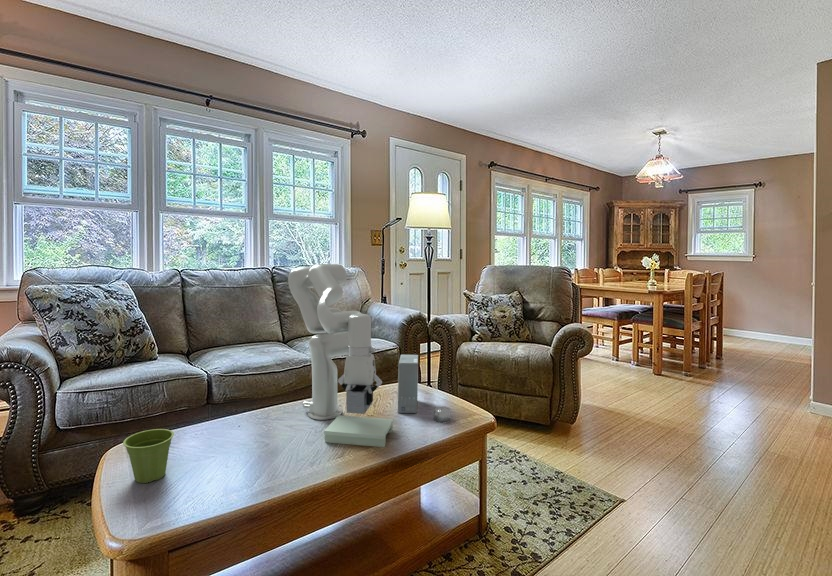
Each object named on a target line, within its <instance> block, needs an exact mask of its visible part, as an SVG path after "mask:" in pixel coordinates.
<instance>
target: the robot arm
mask: <svg viewBox="0 0 832 576" xmlns="http://www.w3.org/2000/svg"><path fill="white" fill-rule="evenodd" d="M347 275H348V274H347V271H346V269H345V268H344V266H343V265H341V264H339V263H337V264H336V263H326V264H325V263H321V264H320V263H319V264H315V265H312V266H304V267H303V266H302V267H296V268H294V269H292V270H291V271H290V272H289V274H288V278H287V279H288V281H287V283H288V288H289V291H290V293H291V295H292V297H293V299H294V300H295V302H296V304H297V305H298V308H299V310H300V314H301V316H302V319H303V323H304V324H305V327H306V329H307V331H308V332H309V333H311V334H314V335H313V336H311V337H310V339H309V341H308V348H309V355H310V360H311V385H312V386H311V389H312V390H311V392H312V394H311V401H303V403H302V407H303V409H308V410H309V411H307V412H308V418H311V419H314V420H319V421H320V420H322V421H325V420H331V419H336V418H337V416H338V415H342V412H343V410H342V408H341V407H339V406H338V384H339V385H340V386H341V388H343V390H344V391H345V393H346V392H347V391H348V390H349V389H350V388H351V387H352V386H353V385H364V386H366V387H367V389H368V394H367V405H370V404H371V402H372V403H373V401H374V392H375V391H376V390H377V389H378V388H380V386H381V385H382V384H383V381H382V379H381V378H380V377H379V376H378V375H377V370H376V362H375V360H376V359H375V356H374V353H375V352H376V348H374V347H373V346H372V318H371V316H370V315H369V314H368V313H362V312H361V311H358V310H346V311H345V310H344V311H343V310H341V309H340V308H337V307H331V306H333V305H335V304H336V303H338V302H339V301H340V299H342V297H343V293H344V292H343V288H342V287H341V286H342V285H344V284H345V283H346V281H347V278H348V276H347ZM310 289H314V290H315V292H316V293H317V294H316V293H314V291H312V290H310ZM345 355H346V356H345ZM339 356H345V362H344V369H343V370H344V372H343V374H342V375H340V377H339V378H338V367H337V365H336V363H335V362H334V361H333V360H332V358H334V357H339ZM374 382H376V384H374ZM373 384H374V385H373Z"/></svg>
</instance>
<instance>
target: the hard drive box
mask: <svg viewBox="0 0 832 576" xmlns="http://www.w3.org/2000/svg"><path fill="white" fill-rule="evenodd" d="M397 374H398V376H397V385H398V386H397V413H400V414H417V413H418V396H419V394H418V393H419V392H418V387H419V386H418V385H419V354H400V355H399V360H398V373H397Z"/></svg>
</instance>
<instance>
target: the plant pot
mask: <svg viewBox="0 0 832 576" xmlns="http://www.w3.org/2000/svg"><path fill="white" fill-rule="evenodd" d="M174 436H175V432H174V431H172V430H170V429H166V428H156V429H155V428H153V429H148V430H143V431H142V430H141V431H139V432H136V433H134V434H131V435H130V436H127V437H126V438H125V439H124V440H123V441H122V443H123V444H122V445H123V446H124V447H125V448H126V451H127V454H128V456H129V461H130V465H131V468H132V474H133V477H134V480H135V482H137V483H139V484H148V482H149V483H151V482H153V481H158V480H160V479H162V478H163V477H165V475H166V471H167V465H168V459H169V458H168V457H169V452H170V446H171V444H172V438H173V437H174Z"/></svg>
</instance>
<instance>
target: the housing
mask: <svg viewBox="0 0 832 576" xmlns="http://www.w3.org/2000/svg"><path fill="white" fill-rule="evenodd" d="M345 393H346V394H345V395H346V397H345V398H346V400H345V401H346V404H345V405H346V414H360V415H365V414H366V412H367V411H368V409H369V408H370V407H371V406H372V404H373V402H371V404H370V405H367V394H368V389H367V387H366V386H364V385H352V387H351V388H350V389H349V390H348V391H347V392H346V391H345Z"/></svg>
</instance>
